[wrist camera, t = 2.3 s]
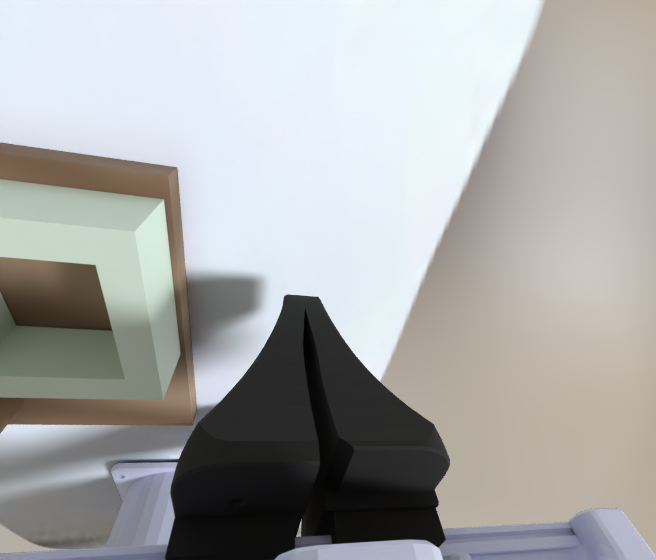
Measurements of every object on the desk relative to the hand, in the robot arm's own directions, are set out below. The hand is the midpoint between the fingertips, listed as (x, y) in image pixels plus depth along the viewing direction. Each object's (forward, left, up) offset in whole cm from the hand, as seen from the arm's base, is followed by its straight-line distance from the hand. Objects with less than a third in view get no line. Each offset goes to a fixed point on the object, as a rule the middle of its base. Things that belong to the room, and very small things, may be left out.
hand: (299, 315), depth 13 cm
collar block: (0, +9, -1) cm, 9 cm away
